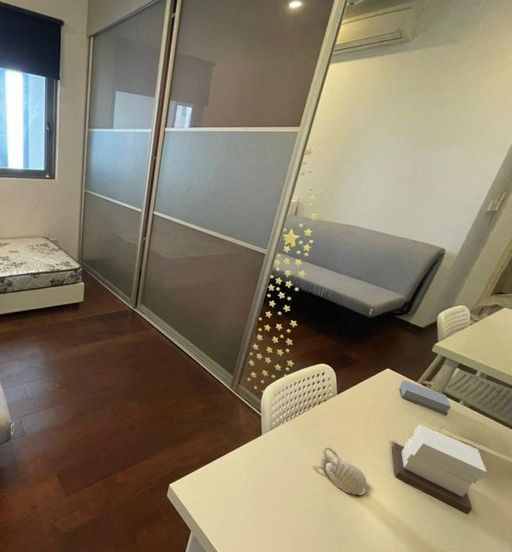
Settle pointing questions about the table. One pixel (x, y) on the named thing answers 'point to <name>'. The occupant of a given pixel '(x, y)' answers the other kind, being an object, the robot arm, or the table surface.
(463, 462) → the white rectangular block
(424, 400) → the blue-grey block
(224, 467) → the table surface
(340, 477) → the decorative ornament
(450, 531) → the table surface
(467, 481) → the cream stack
